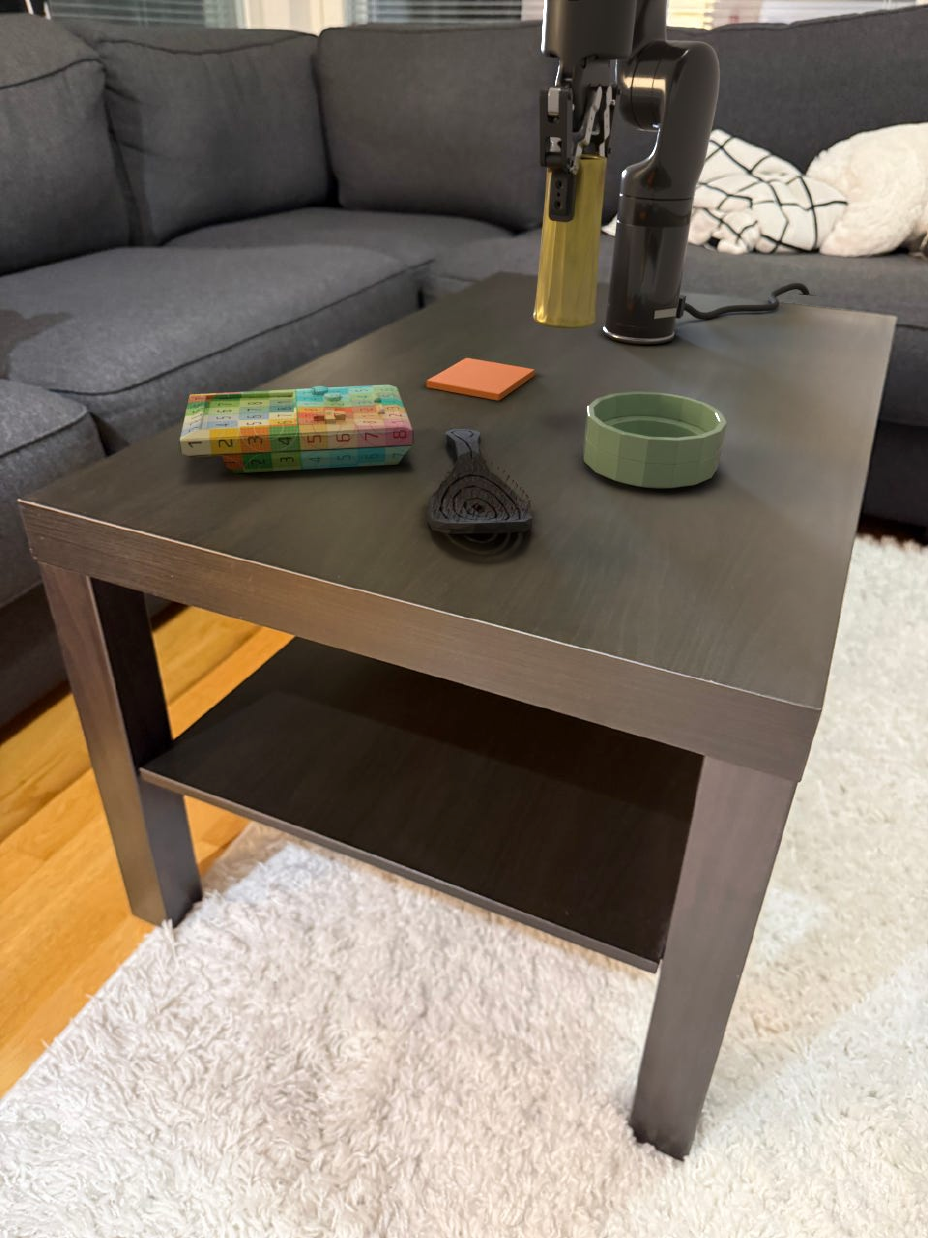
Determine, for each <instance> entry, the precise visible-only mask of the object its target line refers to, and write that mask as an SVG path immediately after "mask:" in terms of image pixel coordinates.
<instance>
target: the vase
mask: <svg viewBox="0 0 928 1238" xmlns="http://www.w3.org/2000/svg"><path fill="white" fill-rule="evenodd" d="M607 162H608V158H606V157H603V156H599V155H590V154H581V158H580V163H579V169H578V172H577V174H576V176H578V177H577V189H576V201H575V212H574V218H573V220H571V221H569V222H558V221H552V220H550V219H549V216H548V213H549V199H550V185H551V174H552V173H549V172H548V169H547V168H546V181H545V195H544V206H543V207H544V208H543V216H542V217H543V218H542V228H541V238H540V239H541V240H540V251H539V261H538V273H537V284H536V291H535V293H536V294H535V302H534V309H533V313H532V318H533V320H534V321H535V322H536V323H537V324H540V325H542V326H545V327H551V328H557V329H581V328H587V327H589V326H592V325H594V324H595V322H596V302H597V290H598V289H597V288H598V273H599V259H600V244H601V243H600V242H601V229H602V218H603V217H602V216H603V208H604V207H603V206H604V195H605V184H606V174H607V173H606V172H607V164H608V163H607Z"/></svg>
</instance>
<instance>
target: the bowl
mask: <svg viewBox="0 0 928 1238" xmlns="http://www.w3.org/2000/svg"><path fill="white" fill-rule="evenodd" d="M584 425H585V426H584V436H583V445H582V456H583V457H582V458H583V462H584V463H585V464H586V465H587V466H588V467H589V468H590V469H592V471H594V472H595V473H597V474H599V475H602V476H603V477H605V478H608V479H610V480H613V481H615V482H618V483H622V484H624V485H629V486H634V487H637V488H638V487H639V488H646V489H675V488H681V487H682V488H683V487H689V486H696V485H698V484H700V483H702V482H705V481H707V480H709V479H712V477H713V476H714V475H715V472H717V470H718V468H719V464H720V460H721V454H722V449H723V444H724V439H725V433H726V429H727V420H726V418H725V416H724V414H723V412H721V411H720V410H718V409H717V408H715V407H714V406H712V405H710V404H709V403H707V402H703V401H700V400H697V399H694V398H692V397H688V396H683V395H678V394H672V393H668V392H667V393H666V392H661V391H660V392H659V391H658V392H657V391H637V390H636V391H627V392H626V391H625V392H614V393H611V394H608V395H605V396H600V397H598V398H595V399H594V400H593V401H592V402H591V403H590V404H588V405H587V407H586V416H585V424H584Z"/></svg>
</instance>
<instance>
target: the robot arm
mask: <svg viewBox="0 0 928 1238" xmlns="http://www.w3.org/2000/svg"><path fill="white" fill-rule="evenodd" d="M667 7H668V0H544V6H543V21H542V36H541V37H542V39H541V53H542V54H543V55H544V57H546V58H551V59H558V60H559V64H558V69H557V73H556V79H555V85H554V86H541V88H540V90H539V95H538V96H539V97H538V99H539V104H538V106H539V109H538V110H539V165H540V167H542V168H546V170H547V169H548V172H549V173H552V174H551V185H550V199H549V213H548V216H549V219H550V220H552V221H558V222H569V221H571V220H573V218H574V212H575V201H576V189H577V177H578V176H576V174H577V172H578V169H579V163H580V158H581V154H590V155H599V156H603V157H606V158H607V159H610V158H611V155H612V153H613V145H614V140H615V139H614V138H615V134H616V133H615V132H616V127H617V121H618V116H619V115H618V114H620V117H621V119H622V121H623V122H624V123H625V125H626V126H628V127H629V128H630V129H634V130H637V131H645V132H654V133H657V137H656V142H655V144H654V145H655V146H654V149H653V151H652V152H651V153H650V155H649V156H647V157H646V158H645V159H643V160H641V161H640V162H637V163H634V164H631V165H629V166H627V167H626V168H624V169H623V170H622V173H621V177H620V183H619V184H620V185H619V195H618V202H617V204H618V205H617V213H616V221H615V222H616V223H615V231H614V241H613V251H612V257H611V258H612V259H611V269H610V276H609V279H610V280H609V284H608V285H609V287H608V296H607V304H606V310H605V311H606V313H605V322H604V325H603V335H604V336H606V337H607V338H608V339H611V340H614V341H617V342H622V343H627V344H633V345H634V344H635V345H658V344H664V343H669V342H671V341H672V340H674V338H675V332H676V331H675V326H676V320H677V319H679V320H680V319H681V318H682V317H684V313H685V312H686V313H688V314H689V315H691V317H693V318H694V319H697V320H701V321H702V320H703V321H704V320H711V319H714V318H717V317H719V316H722V315H725V314H729V313H730V314H731V313H741V312H742V313H750V312H751V313H754V312H755V313H756V312H757V313H759V312H761V313H762V312H771V311H774V310H776V309H778V307H780V300H779V299H778V298H777V297H779V296H781V295H783V294H785V293H788V292H789V291H790V292H791V291H794V290H798V291H800V293H802V295H805V296H807V295H810V290H809V288H808V287H807V286H806V285H805V284H804V283H802V282H792V283H788V284H786V285H783V286H780V287H779V288H776V289H775V290H773V291H771V292H770V293H769V294H768V296H767V299H768V301H769V303H765V304H733V305H725V306H722V307H718V308H716V309H713V310H711V311H706V312H704V311H700V310H698V309H697V308H695V307H694V306H693V305H691V304H689V303H687V302H686V300H687V295H683V294H681V289H682V282H683V276H684V269H685V262H686V255H687V249H688V243H689V235H690V230H691V222H692V215H693V208H694V204H695V203H694V202H695V196H696V190H697V186H698V183H699V180H700V178H701V176H702V173H703V170H704V167H705V165H706V164H705V163H706V160H707V154H708V149H709V144H710V140H711V134H712V129H713V124H714V121H715V115H716V110H717V105H718V100H719V93H720V85H721V84H720V83H721V70H720V68H721V67H720V62H719V58H718V54H717V52H716V51H715V49H714V47H713V46H712V45H710V44H708V43H707V42H704V41H699V40H698V41H697V40H673V39H672V40H670V39H668V37H667ZM612 60H615V83H611V66H610V65H611V64H610V63H611V61H612Z"/></svg>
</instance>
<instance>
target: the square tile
mask: <svg viewBox="0 0 928 1238" xmlns="http://www.w3.org/2000/svg"><path fill="white" fill-rule="evenodd" d="M535 372H536V370H535V368H530V367H529V368H528V367H523V366H519V365H511V364H506V363H500V362H494V361H487V360H483V359H477V358H471V357H465V358H463V359H462V360H460V361H458V362H457V363H455V364H453V365H451V366H449V367H447V368H446V369H444V370H443V371H441V372H439V373H437V374H436V375H434V376H433V377H431V378H429V379H427V380H426V388H429V389H434V390H440V391H445V392H451V393H455V394H460V395H467V396H471V397H477V398H481V399H488V400H492V401H497V402H499V401H500V400H501V401H502V399H504V398H505V397H506V396H508V395H509V394H510V393H513V391H515V390H516V389H518V388H519V387H521V386H522V385H523V384H526V382H528V381H530V380H531V379H532V378H533V377H535Z"/></svg>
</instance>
